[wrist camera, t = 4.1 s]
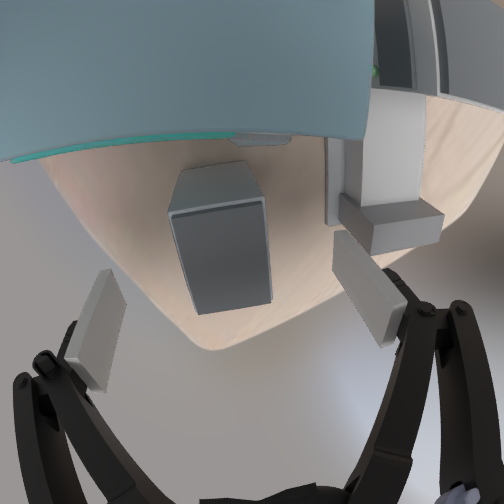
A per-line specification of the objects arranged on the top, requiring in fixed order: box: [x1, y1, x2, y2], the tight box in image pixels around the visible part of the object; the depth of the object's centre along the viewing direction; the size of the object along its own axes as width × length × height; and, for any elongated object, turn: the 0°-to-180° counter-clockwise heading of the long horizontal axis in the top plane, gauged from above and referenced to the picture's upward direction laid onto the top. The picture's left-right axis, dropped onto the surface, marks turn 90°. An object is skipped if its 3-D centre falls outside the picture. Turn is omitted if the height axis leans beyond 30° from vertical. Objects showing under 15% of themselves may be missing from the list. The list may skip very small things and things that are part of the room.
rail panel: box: [325, 88, 426, 226], centre depth 18 cm, size 20×8×4 cm, turn 6°
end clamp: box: [338, 193, 445, 256], centre depth 21 cm, size 2×7×6 cm, turn 96°
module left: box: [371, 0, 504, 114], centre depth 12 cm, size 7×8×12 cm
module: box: [168, 161, 273, 315], centre depth 19 cm, size 7×5×8 cm
